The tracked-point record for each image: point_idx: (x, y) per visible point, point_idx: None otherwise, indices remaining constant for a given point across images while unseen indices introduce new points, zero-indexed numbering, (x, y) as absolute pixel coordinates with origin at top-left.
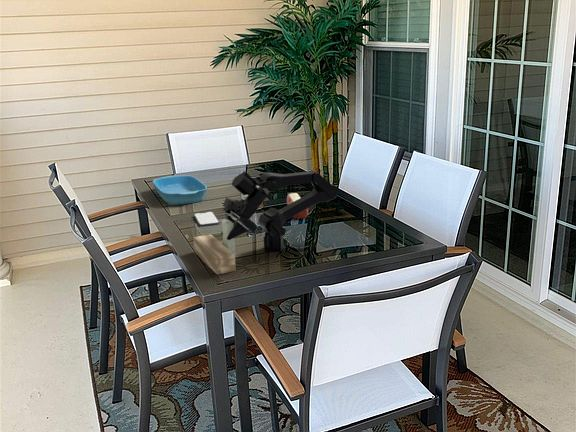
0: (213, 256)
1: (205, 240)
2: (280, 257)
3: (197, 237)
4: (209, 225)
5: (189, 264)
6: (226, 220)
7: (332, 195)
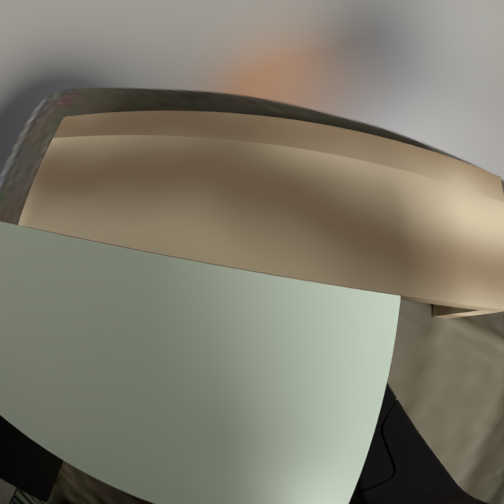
0: (97, 115)
1: (414, 199)
2: (86, 500)
3: (489, 192)
4: None
5: (303, 116)
6: (304, 458)
7: None
